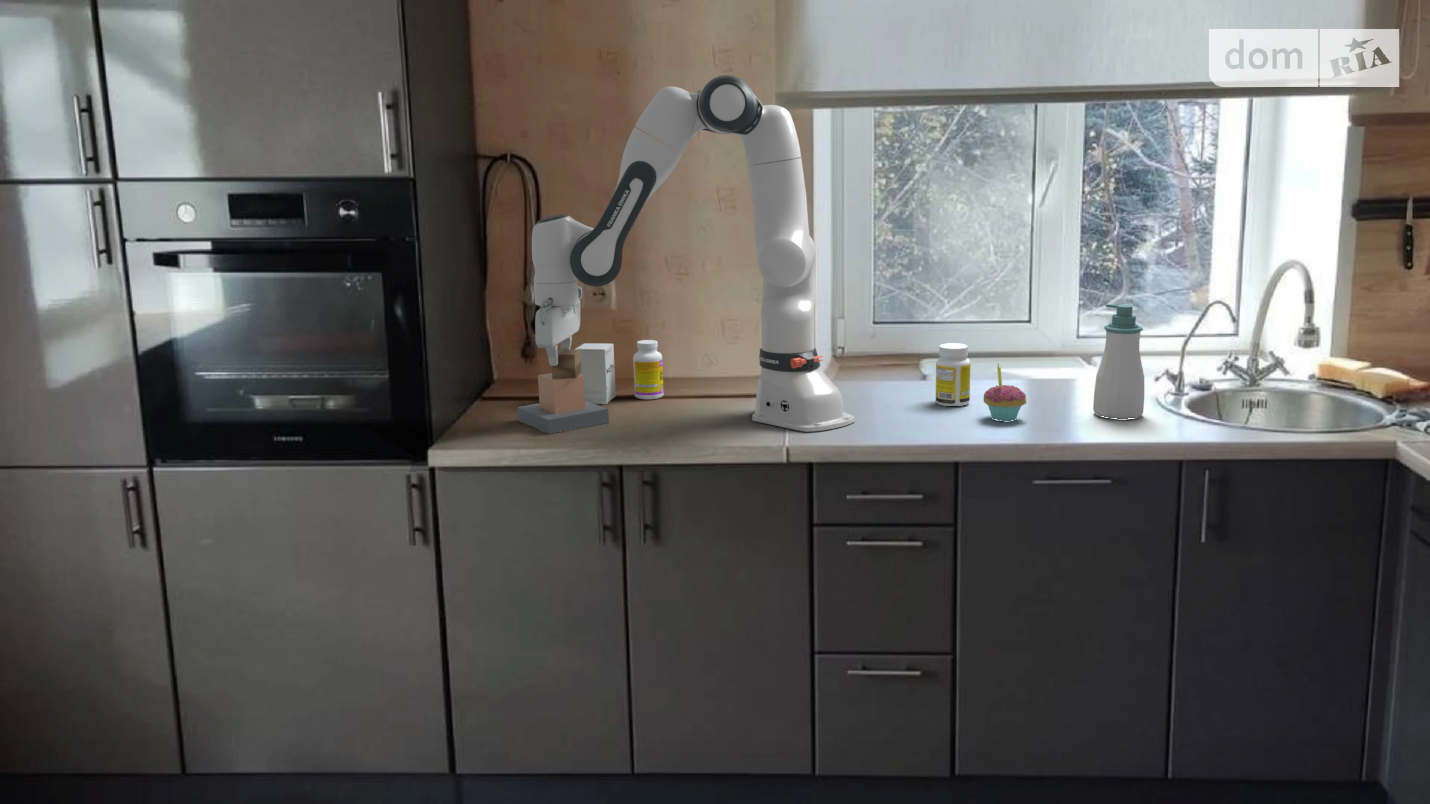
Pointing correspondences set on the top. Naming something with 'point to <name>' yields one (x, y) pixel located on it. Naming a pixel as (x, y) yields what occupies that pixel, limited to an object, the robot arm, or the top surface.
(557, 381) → the terracotta block
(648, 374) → the supplement bottle
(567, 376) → the walnut block
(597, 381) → the supplement box
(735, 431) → the top surface
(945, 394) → the supplement bottle
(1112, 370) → the soap bottle
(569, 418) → the base slab
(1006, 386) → the cupcake
